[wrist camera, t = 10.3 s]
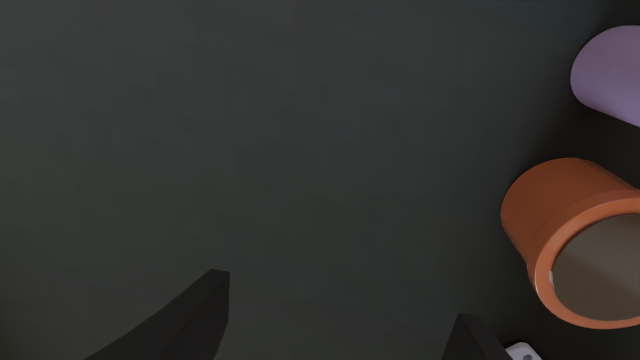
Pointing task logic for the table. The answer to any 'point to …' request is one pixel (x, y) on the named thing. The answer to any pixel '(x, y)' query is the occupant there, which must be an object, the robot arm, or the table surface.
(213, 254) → the table surface
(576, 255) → the terracotta pot
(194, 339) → the robot arm
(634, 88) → the glue stick
